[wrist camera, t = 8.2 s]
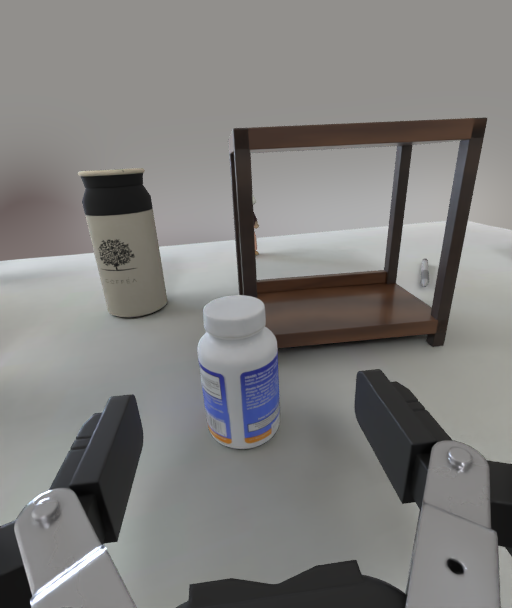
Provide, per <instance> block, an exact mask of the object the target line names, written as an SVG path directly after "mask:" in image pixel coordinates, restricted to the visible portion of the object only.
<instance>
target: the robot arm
mask: <svg viewBox="0 0 512 608" xmlns="http://www.w3.org/2000/svg"><path fill="white" fill-rule="evenodd" d="M355 414H356V418H357V421H358V423H359V425H360V427H361V429H362V431H363V432H364V434H365V436H366V438H367V440H368V442H369V443H370V445H371V447H372V449H373V451H374V453H375V454H376V456H377V458H378V460H379V462H380V464H381V465H382V467H383V469H384V471H385V473H386V475H387V477H388V478H389V480H390V482H391V484H392V486H393V488H394V489H395V491H396V493H397V495H398V497H399V499H400V500H401V502H402V504H404V503H412V502H416V504H417V505H418V507H419V509H420V512H419V517H418V523H417V529H416V534H415V540H414V546H413V552H412V558H411V563H410V569H409V575H408V580H407V586H406V591H405V593H404V592H402V591H401V590H399V589H398V588H396V587H394V586H392V585H391V584H389V583H387V582H384V581H382V580H379V579H377V578H373V577H370V576H366V575H361V572H360V569H359V566H358V563H357V561H356V560H351V561H345V562H338V563H331V564H324V565H318V566H315V567H313V568H311V569H309V570H307V571H304V572H302V573H300V574H298V575H296V576H294V577H292V578H290V579H288V580H286V581H284V582H282V583H279V584H266V583H260V582H253V581H246V580H240V579H233V578H230V579H224V580H217V581H210V582H204V583H197V584H190V588H189V601H187V602H185V603H183V604H181V605H179V606H178V607H176V608H501V606H500V581H499V556H498V546H503V547H506V549H507V550H508V552H509V553H510V555H511V556H512V464H507V463H500V462H493V461H488V460H486V459H485V458H484V457H483V456H482V455H481V454H480V453H479V452H478V451H477V450H475V449H474V448H472V447H470V446H468V445H466V444H464V443H461V442H457V441H453V440H452V439H451V438H450V437H449V436H448V435H447V433H446V432H445V431H444V430H443V429H442V428H441V426H440V425H439V424H438V423H437V422H436V420H435V419H434V418H433V417H432V416H431V415H430V413H429V412H428V411H427V410H425V408H424V406H423V405H422V404H421V403H420V402H418V399H417V398H416V397H415V396H414V395H413V393H412V392H411V391H410V390H409V389H407V388H406V387H404V386H403V385H401V384H399V383H398V382H390V381H389V380H388V378H387V377H386V376H385V375H384V373H383V372H382V371H381V370H380V369H376V370H366V371H359V372H358V373H357V379H356V393H355ZM142 446H143V428H142V424H141V419H140V415H139V411H138V406H137V402H136V398H135V396H134V395H133V394H132V395H123V396H113V397H110V398H109V400H108V402H107V404H106V406H105V409H104V411H103V413H95V414H93V415H92V416H91V417H90V418H89V419H88V420H87V421H86V422H85V423H84V424H83V425H82V427H81V429H80V431H79V433H78V435H77V437H76V440H75V441H74V443H73V444H72V446H71V450H70V451H69V452H68V454H67V456H66V458H65V460H64V462H63V464H62V466H61V468H60V469H59V471H58V473H57V475H56V477H55V479H54V481H53V483H52V485H51V487H50V489H49V491H47V492H45V493H43V494H41V495H39V496H37V497H36V498H34V499H33V500H32V501H31V502H29V503H28V504H27V505H26V506H25V507H24V509H23V510H22V511H21V512H20V514H19V515H18V517H17V519H16V520H15V521H12V522H10V523H8V524H5V525H2V526H0V608H137V607H136V605H135V604H134V602H133V600H132V598H131V596H130V594H129V592H128V590H127V588H126V586H125V584H124V582H123V580H122V578H121V576H120V574H119V572H118V570H117V568H116V567H115V565H114V563H113V561H112V559H111V557H110V555H109V553H108V551H107V549H106V548H105V546H104V545H103V544H104V543H111V542H117V541H118V537H119V533H120V529H121V526H122V522H123V518H124V514H125V511H126V507H127V503H128V499H129V496H130V492H131V488H132V484H133V481H134V477H135V473H136V469H137V466H138V462H139V458H140V454H141V451H142Z"/></svg>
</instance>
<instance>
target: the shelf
mask: <svg viewBox="0 0 512 608" xmlns="http://www.w3.org/2000/svg"><path fill="white" fill-rule="evenodd" d="M486 122H487V118H466V119H442V120H419V121H395V122H372V123H349V124H325V125H302V126H278V127H258V128H234V129H233V131H232V133H231V135H230V137H229V155H230V169H231V184H232V198H233V212H234V225H235V241H236V255H237V269H238V283H239V295H244V296H251V297H255V298H258V299H259V300H261V301H262V302H263V303H264V306H265V317H266V325H265V327H267V328H268V329H269V330H270V331H272V333H273V334H274V335H275V338H276V340H277V348H286V347H296V346H307V345H317V344H328V343H339V342H349V341H360V340H370V339H381V338H391V337H402V336H413V335H423V334H427V340H426V341H427V342H428V343H429V344H430V345H432V346H443V345H444V340H445V335H446V330H447V325H448V320H449V314H450V309H451V304H452V299H453V294H454V289H455V283H456V278H457V273H458V268H459V263H460V257H461V252H462V247H463V242H464V237H465V232H466V226H467V221H468V216H469V211H470V206H471V200H472V195H473V190H474V184H475V180H476V174H477V169H478V164H479V159H480V153H481V148H482V143H483V138H484V133H485V128H486ZM452 141H460V145H459V151H458V157H457V163H456V169H455V175H454V181H453V187H452V193H451V198H450V204H449V210H448V217H447V222H446V228H445V234H444V240H443V246H442V251H441V257H440V263H439V269H438V275H437V281H436V287H435V293H434V299H433V305H432V308H431V307H430V306H428V305H427V304H425V303H424V302H422V301H421V300H420V299H418V298H417V297H415V296H414V295H412V294H411V293H409V292H408V291H406V290H405V289H403V288H402V287H400V286H399V285H397V284H396V277H397V268H398V260H399V252H400V243H401V235H402V227H403V218H404V210H405V202H406V193H407V185H408V177H409V168H410V159H411V152H412V145H417V144H430V143H441V142H452ZM386 146H397V152H396V162H395V173H394V182H393V192H392V200H391V201H392V202H391V210H390V220H389V229H388V238H387V248H386V258H385V267H384V270H380V271H367V272H354V273H341V274H329V275H316V276H303V277H290V278H277V279H265V280H256V259H255V238H254V218H253V197H252V179H251V178H252V176H251V157H250V153H264V152H284V151H304V150H325V149H345V148H366V147H386Z"/></svg>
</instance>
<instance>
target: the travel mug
mask: <svg viewBox="0 0 512 608" xmlns="http://www.w3.org/2000/svg"><path fill="white" fill-rule="evenodd" d="M143 172H144V169H143V168H137V169H136V168H135V169H115V170H97V171H80V172H78V175H79V176H80V177H81V178H82V181H83V183H84V186H85V188H86V190H85V193H84V197H83V201H82V203H83V207H84V211H85V216H86V220H87V224H88V228H89V232H90V237H91V241H92V245H93V249H94V254H95V258H96V262H97V266H98V270H99V275H100V279H101V283H102V287H103V291H104V296H105V300H106V304H107V308H108V312H109V313H110V314H112V315H115V316H119V317H130V318H131V317H139V316H144V315H148V314H151V313H153V312H155V311H158V310H159V309H161V308H162V307H164V306H165V305H166V303H167V295H166V289H165V283H164V277H163V271H162V264H161V258H160V252H159V246H158V239H157V233H156V227H155V222H154V215H153V209H152V202H151V196H150V195H149V193H148V192H147V190H146V189H145V187H144V186H143Z"/></svg>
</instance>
